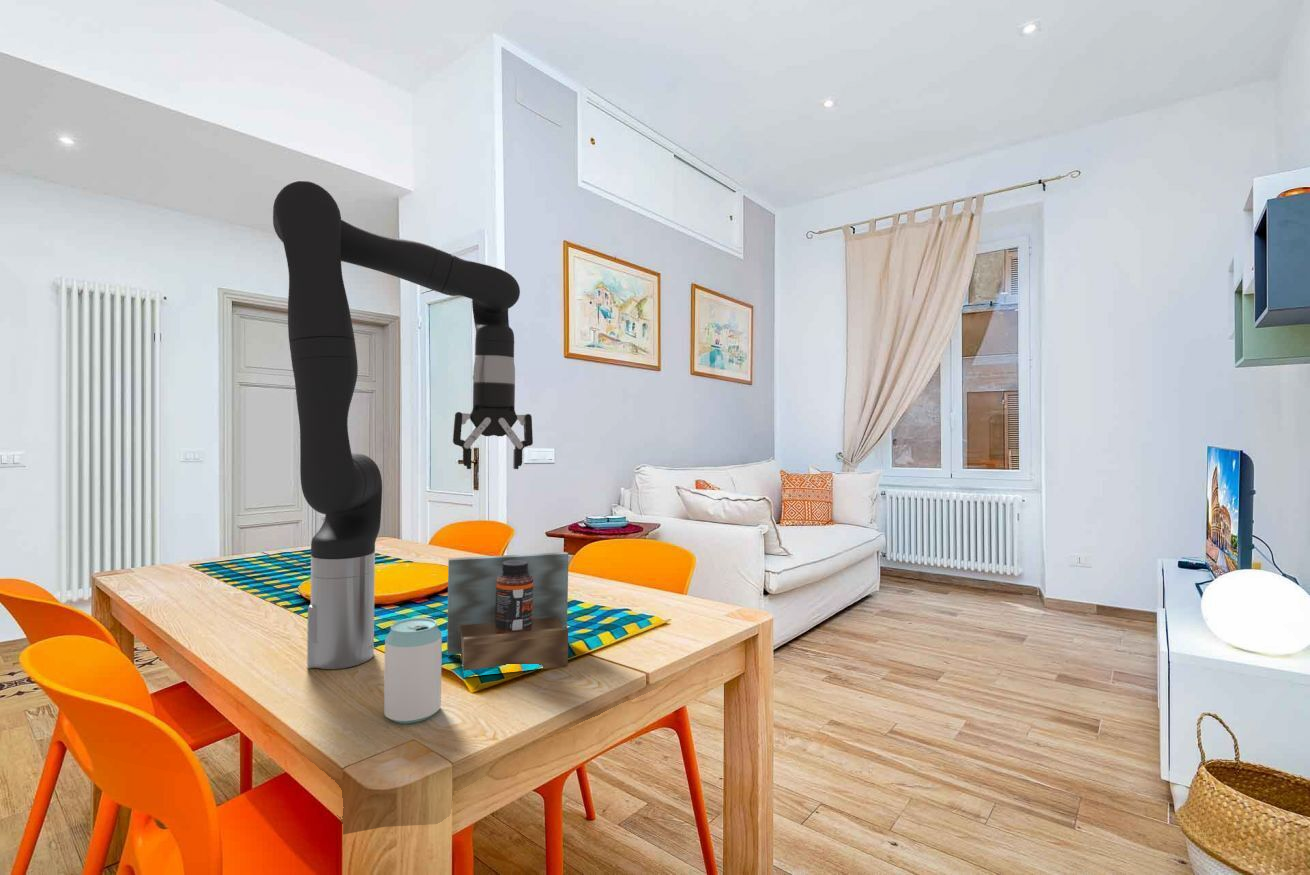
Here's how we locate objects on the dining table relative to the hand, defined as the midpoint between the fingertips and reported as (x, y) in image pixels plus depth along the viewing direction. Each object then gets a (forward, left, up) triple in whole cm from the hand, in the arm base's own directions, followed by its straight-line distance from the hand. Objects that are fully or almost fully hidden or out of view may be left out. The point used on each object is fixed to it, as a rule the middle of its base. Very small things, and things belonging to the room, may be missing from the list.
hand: (492, 468), depth 116 cm
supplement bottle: (+2, -17, -25) cm, 31 cm away
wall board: (+2, -16, -30) cm, 34 cm away
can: (-13, -31, -30) cm, 45 cm away
